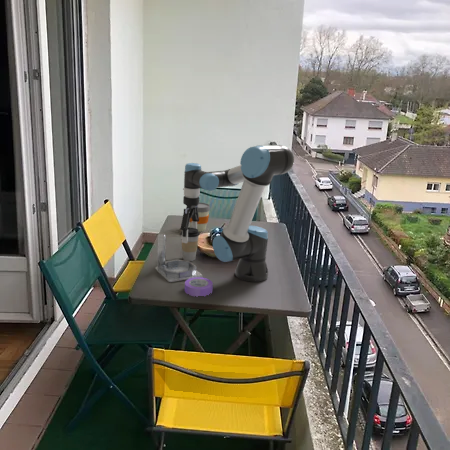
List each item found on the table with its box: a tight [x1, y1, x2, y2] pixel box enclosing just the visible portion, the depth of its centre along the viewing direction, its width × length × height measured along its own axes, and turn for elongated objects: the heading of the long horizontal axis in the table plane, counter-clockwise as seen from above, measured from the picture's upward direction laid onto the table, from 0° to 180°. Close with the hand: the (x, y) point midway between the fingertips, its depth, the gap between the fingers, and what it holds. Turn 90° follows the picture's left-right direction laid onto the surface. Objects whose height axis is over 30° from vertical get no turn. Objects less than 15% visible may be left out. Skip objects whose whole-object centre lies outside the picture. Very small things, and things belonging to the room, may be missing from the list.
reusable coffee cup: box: [189, 201, 211, 233], centre depth 271 cm, size 13×13×15 cm
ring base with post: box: [155, 233, 203, 283], centre depth 206 cm, size 16×16×17 cm
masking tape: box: [184, 276, 214, 298], centre depth 192 cm, size 12×12×4 cm
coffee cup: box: [179, 227, 200, 262], centre depth 224 cm, size 9×9×15 cm
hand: (189, 238), depth 224 cm, fingers open, 13 cm apart
